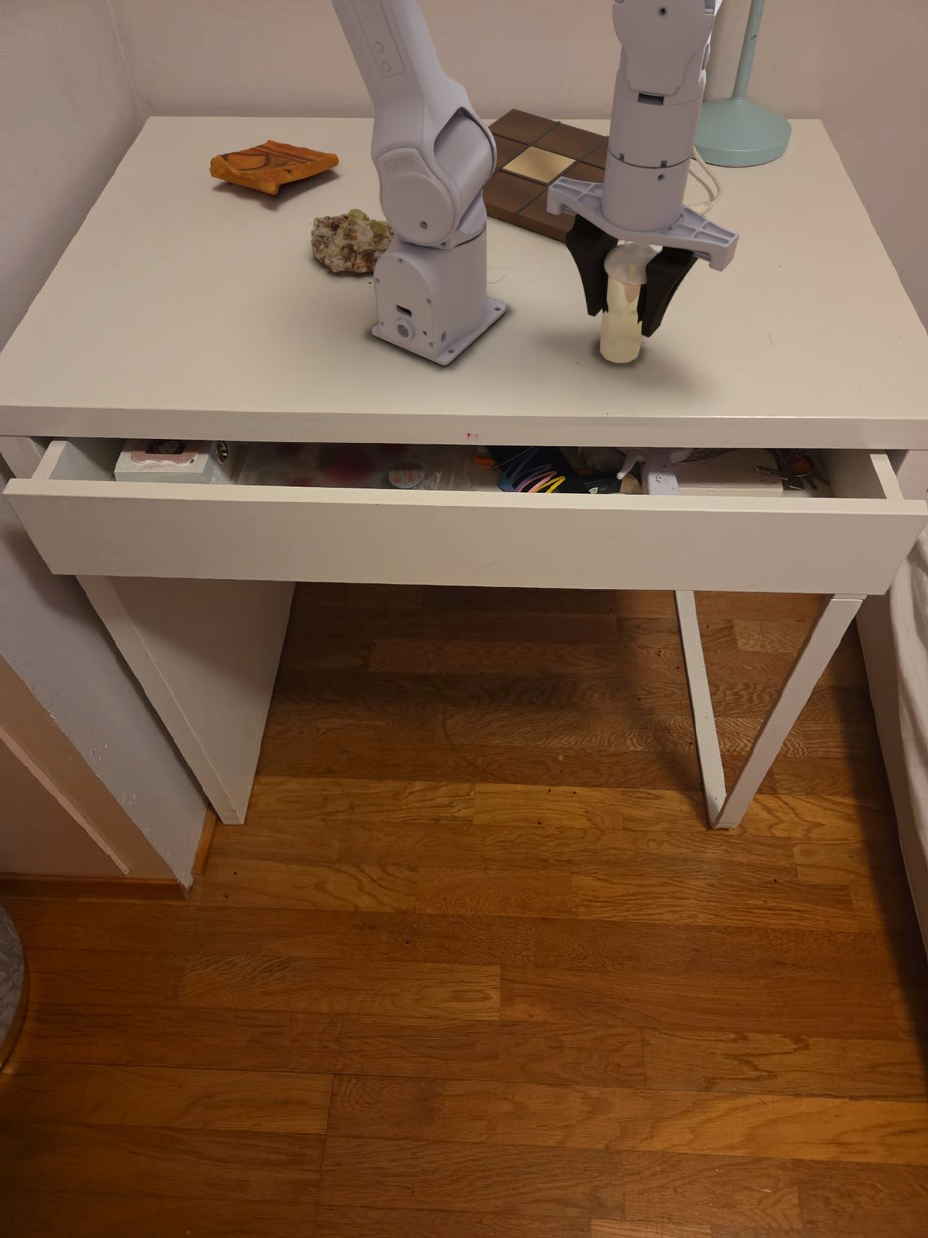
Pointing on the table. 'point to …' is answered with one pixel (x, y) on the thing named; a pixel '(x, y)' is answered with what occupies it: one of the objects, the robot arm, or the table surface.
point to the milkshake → (624, 301)
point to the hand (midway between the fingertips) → (624, 319)
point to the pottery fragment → (270, 165)
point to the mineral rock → (350, 241)
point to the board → (539, 169)
